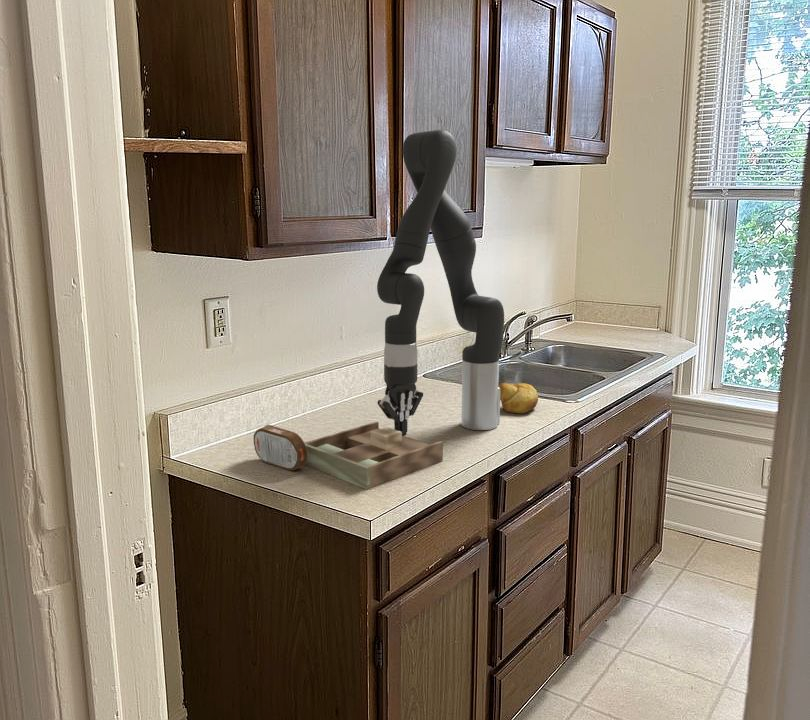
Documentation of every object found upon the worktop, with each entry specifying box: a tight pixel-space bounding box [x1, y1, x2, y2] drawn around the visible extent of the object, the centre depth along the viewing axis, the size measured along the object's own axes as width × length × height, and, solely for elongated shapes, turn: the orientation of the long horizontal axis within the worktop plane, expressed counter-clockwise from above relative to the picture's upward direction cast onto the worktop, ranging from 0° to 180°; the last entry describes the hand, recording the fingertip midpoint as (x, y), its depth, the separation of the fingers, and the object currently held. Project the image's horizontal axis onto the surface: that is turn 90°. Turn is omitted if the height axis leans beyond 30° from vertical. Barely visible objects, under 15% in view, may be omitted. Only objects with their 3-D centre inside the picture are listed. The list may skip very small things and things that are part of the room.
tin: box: [253, 424, 307, 472], centre depth 166 cm, size 15×3×8 cm, turn 51°
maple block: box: [371, 426, 402, 450], centre depth 170 cm, size 5×5×3 cm
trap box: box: [304, 421, 444, 490], centre depth 168 cm, size 23×22×4 cm
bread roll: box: [498, 382, 540, 414], centre depth 208 cm, size 13×10×8 cm
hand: (400, 435), depth 174 cm, fingers closed
